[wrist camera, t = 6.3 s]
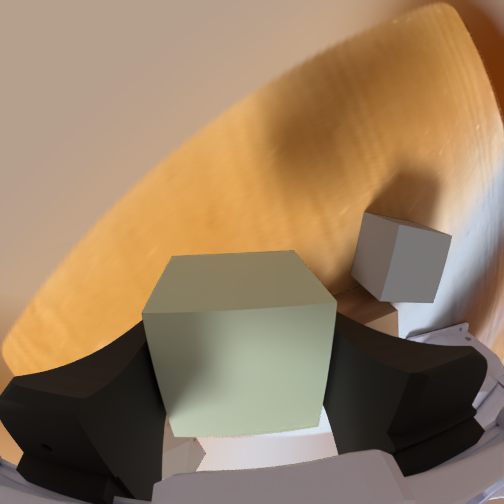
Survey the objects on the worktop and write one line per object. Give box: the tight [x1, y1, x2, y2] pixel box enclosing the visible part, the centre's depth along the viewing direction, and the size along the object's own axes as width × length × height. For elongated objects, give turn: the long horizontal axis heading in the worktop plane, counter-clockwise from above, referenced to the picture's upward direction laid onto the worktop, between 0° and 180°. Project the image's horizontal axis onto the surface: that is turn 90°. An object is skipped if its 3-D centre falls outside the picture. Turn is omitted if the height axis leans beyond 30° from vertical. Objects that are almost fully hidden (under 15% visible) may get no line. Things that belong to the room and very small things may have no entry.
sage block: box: [142, 250, 337, 437], centre depth 10 cm, size 5×5×5 cm
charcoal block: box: [350, 212, 452, 303], centre depth 19 cm, size 5×5×5 cm
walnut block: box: [333, 286, 399, 337], centre depth 21 cm, size 5×5×5 cm
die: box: [162, 415, 206, 480], centre depth 21 cm, size 8×9×10 cm
